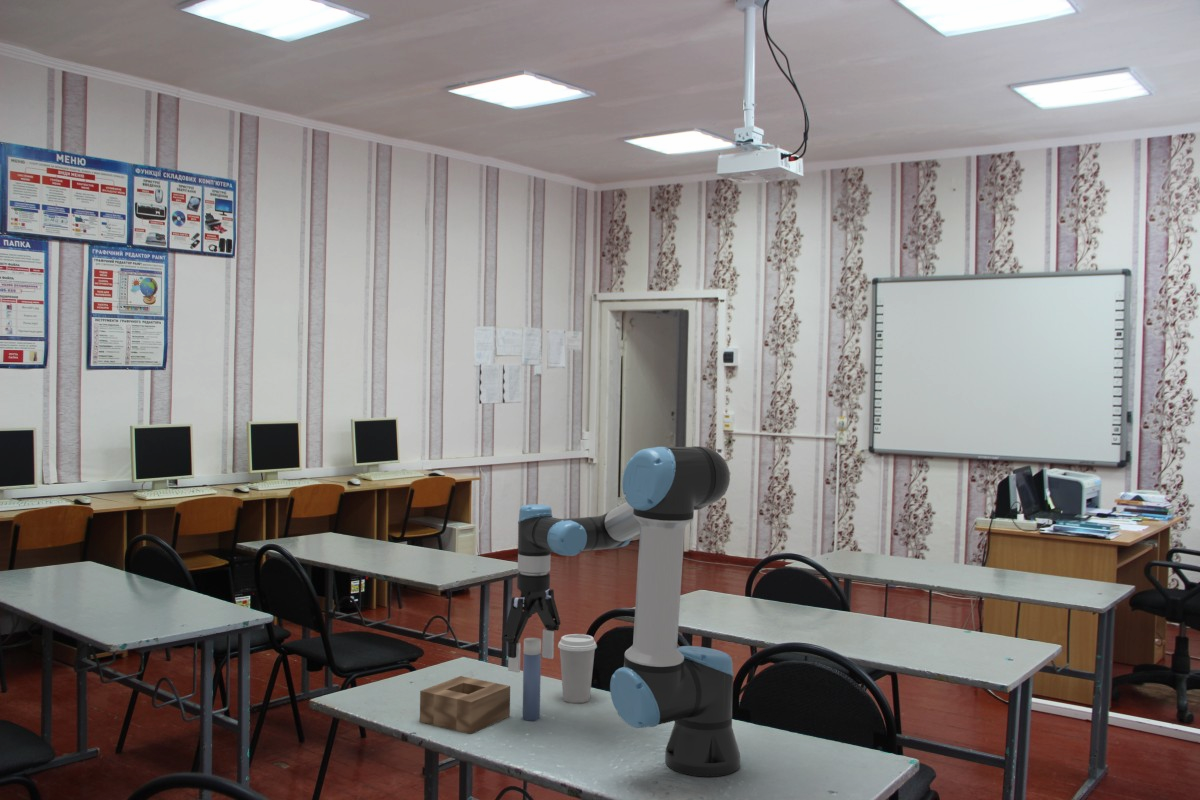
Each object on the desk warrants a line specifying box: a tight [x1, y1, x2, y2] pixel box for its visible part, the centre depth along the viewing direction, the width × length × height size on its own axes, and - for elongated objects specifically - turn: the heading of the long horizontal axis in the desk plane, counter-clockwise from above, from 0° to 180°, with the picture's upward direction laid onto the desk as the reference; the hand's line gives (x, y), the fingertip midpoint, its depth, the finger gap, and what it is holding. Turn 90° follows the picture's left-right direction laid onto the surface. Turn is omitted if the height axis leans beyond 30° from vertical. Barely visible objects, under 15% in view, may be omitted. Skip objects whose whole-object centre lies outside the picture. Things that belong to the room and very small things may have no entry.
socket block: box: [419, 675, 511, 735], centre depth 228 cm, size 14×14×7 cm
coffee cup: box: [557, 633, 598, 704], centre depth 244 cm, size 10×10×15 cm
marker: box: [521, 637, 542, 722], centre depth 229 cm, size 4×4×18 cm
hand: (531, 664), depth 229 cm, fingers open, 13 cm apart
